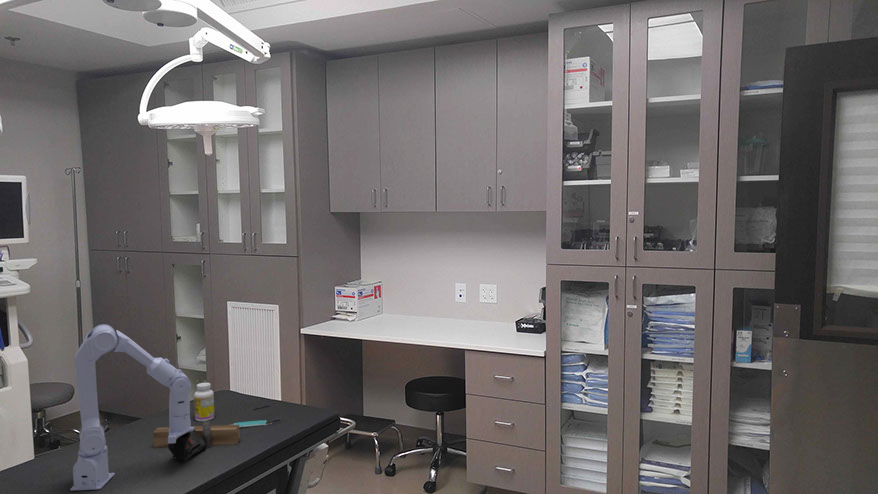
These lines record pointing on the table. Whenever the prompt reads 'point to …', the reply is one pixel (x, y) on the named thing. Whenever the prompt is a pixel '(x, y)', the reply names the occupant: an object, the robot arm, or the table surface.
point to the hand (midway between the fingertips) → (180, 458)
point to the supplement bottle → (204, 402)
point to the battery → (191, 445)
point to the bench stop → (203, 435)
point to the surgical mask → (253, 422)
